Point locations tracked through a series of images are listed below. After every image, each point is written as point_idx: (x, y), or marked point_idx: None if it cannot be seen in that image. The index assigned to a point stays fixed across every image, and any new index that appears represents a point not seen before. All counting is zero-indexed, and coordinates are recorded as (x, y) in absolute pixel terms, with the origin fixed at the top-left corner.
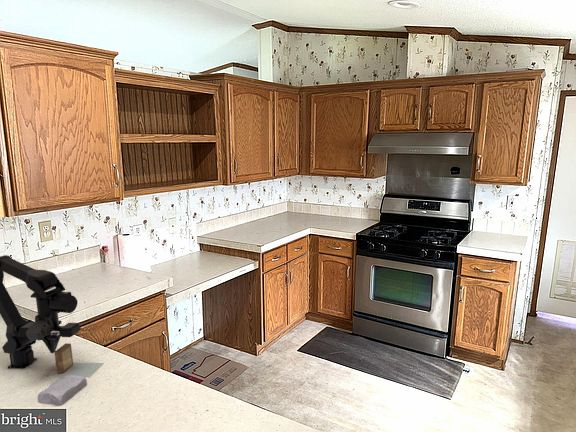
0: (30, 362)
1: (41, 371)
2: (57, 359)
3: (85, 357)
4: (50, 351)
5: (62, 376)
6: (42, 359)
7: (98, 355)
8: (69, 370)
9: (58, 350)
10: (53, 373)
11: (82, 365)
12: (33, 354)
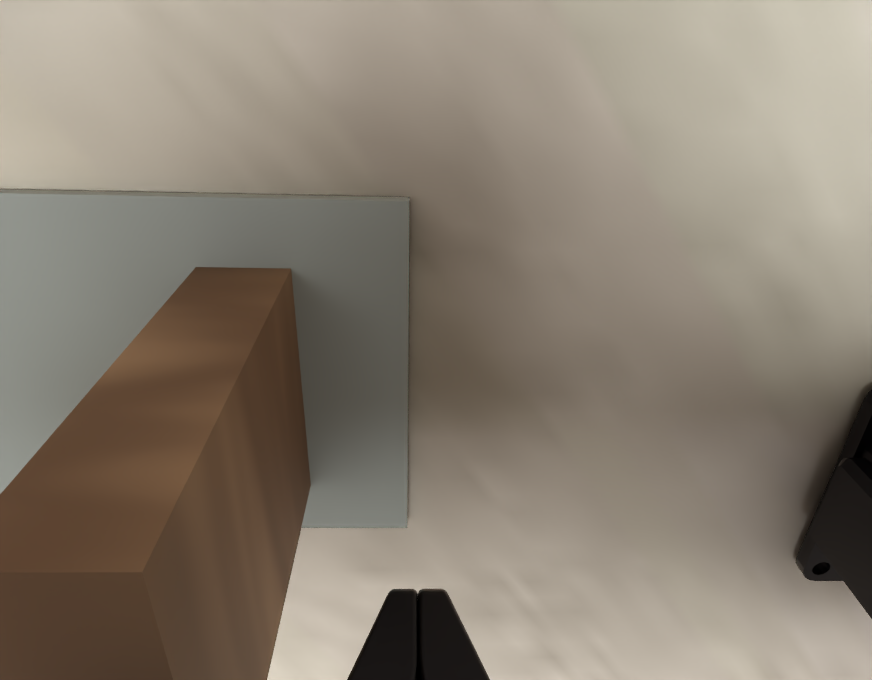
0: (842, 487)
1: (595, 338)
2: (160, 412)
3: None
4: (442, 624)
5: (143, 201)
6: (727, 569)
7: None
8: None
9: (88, 642)
10: (358, 278)
11: None
12: (867, 609)
